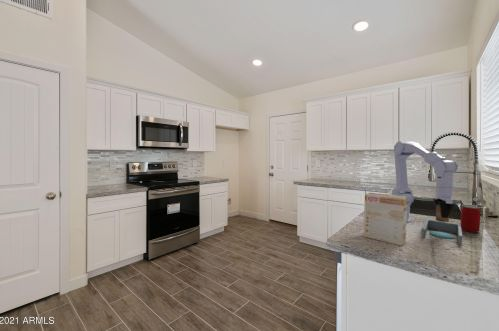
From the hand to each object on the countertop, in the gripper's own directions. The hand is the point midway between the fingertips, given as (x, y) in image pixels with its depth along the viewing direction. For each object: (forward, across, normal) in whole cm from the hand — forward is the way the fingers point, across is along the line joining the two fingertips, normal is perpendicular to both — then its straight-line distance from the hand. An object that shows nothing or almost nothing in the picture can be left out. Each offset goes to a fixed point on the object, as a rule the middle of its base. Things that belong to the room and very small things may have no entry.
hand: (442, 216), depth 106 cm
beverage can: (+9, -13, +14) cm, 22 cm away
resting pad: (+9, 0, 0) cm, 9 cm away
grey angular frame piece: (+9, 0, 0) cm, 9 cm away
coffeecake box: (+9, +17, -25) cm, 31 cm away
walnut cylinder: (+2, 0, 0) cm, 2 cm away
